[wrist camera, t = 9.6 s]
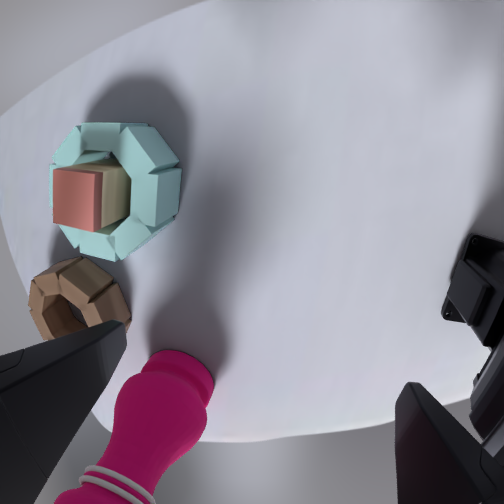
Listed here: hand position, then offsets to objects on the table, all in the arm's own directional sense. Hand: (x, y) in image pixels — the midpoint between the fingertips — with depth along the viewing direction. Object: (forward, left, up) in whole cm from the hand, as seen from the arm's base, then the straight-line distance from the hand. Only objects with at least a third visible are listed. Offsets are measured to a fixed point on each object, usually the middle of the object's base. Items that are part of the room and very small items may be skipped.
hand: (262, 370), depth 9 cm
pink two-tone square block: (+12, -2, -12) cm, 17 cm away
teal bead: (+12, -2, -12) cm, 17 cm away
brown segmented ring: (+16, +9, -12) cm, 22 cm away
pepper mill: (+7, +14, -13) cm, 20 cm away
